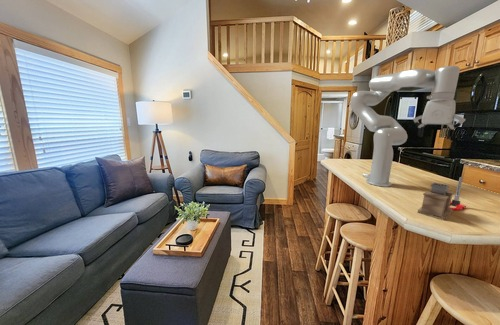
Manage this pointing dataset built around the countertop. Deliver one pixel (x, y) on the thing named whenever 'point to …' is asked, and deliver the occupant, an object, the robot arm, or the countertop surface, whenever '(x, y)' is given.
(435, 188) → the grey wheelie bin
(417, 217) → the countertop surface
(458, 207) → the tow hook
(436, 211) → the ribbed brown block
